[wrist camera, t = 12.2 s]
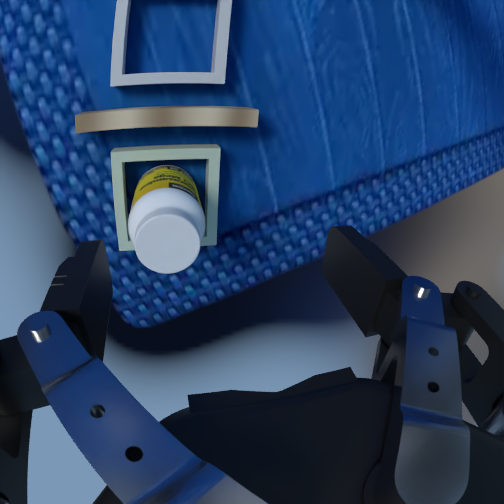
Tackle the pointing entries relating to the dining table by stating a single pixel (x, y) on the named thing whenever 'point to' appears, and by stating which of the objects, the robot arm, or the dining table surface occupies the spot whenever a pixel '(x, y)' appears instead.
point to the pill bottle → (166, 219)
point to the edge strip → (166, 117)
